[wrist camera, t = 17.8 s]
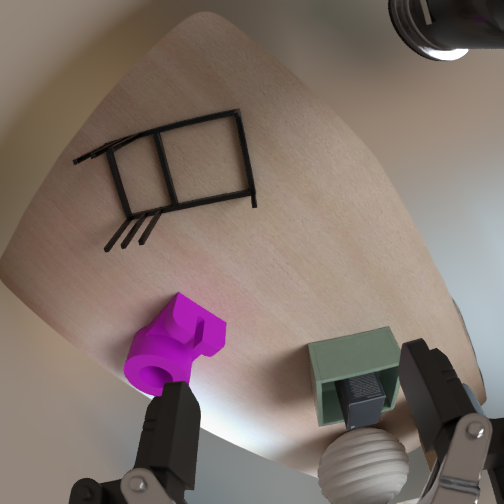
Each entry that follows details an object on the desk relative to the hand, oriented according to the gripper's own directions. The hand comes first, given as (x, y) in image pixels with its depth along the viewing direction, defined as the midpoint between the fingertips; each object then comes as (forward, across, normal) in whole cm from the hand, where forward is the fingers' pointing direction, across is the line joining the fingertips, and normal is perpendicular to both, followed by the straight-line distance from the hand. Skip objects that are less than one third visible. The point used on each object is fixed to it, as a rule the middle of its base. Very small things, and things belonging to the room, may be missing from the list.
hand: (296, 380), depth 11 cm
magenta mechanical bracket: (+29, +18, +22) cm, 40 cm away
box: (+28, -9, +35) cm, 45 cm away
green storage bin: (+29, -9, +35) cm, 46 cm away
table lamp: (+29, -11, +66) cm, 73 cm away
